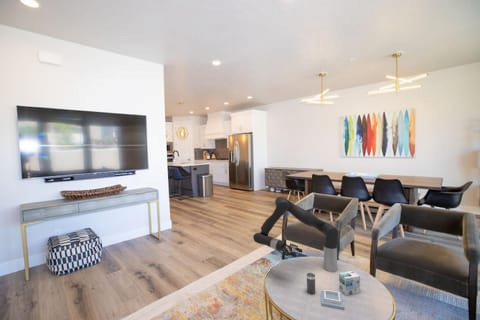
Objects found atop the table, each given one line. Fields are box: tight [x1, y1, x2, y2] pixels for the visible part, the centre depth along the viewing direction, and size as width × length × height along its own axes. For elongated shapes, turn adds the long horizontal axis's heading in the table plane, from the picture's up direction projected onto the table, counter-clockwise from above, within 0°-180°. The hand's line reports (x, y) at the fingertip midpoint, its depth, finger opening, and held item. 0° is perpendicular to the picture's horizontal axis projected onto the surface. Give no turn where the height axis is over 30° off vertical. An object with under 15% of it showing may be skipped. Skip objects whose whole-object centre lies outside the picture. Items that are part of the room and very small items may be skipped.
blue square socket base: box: [320, 289, 345, 311], centre depth 132 cm, size 12×12×4 cm
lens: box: [306, 272, 316, 295], centre depth 140 cm, size 5×5×11 cm
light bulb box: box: [338, 270, 361, 296], centre depth 140 cm, size 11×7×11 cm, turn 101°
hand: (299, 253), depth 146 cm, fingers open, 8 cm apart
